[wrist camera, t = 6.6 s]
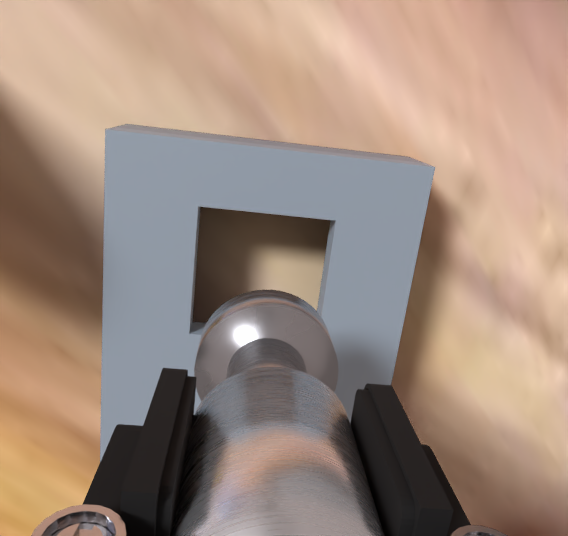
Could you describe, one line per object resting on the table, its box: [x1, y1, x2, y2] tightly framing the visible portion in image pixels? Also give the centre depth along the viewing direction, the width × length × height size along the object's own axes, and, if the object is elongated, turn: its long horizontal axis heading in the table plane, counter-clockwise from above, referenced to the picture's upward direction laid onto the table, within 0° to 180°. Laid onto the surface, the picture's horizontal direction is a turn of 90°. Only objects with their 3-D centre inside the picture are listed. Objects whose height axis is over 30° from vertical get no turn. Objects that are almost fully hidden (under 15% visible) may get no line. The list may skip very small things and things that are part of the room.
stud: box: [171, 290, 385, 536], centre depth 11 cm, size 4×4×10 cm
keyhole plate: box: [100, 124, 435, 462], centre depth 24 cm, size 18×12×3 cm, turn 173°
